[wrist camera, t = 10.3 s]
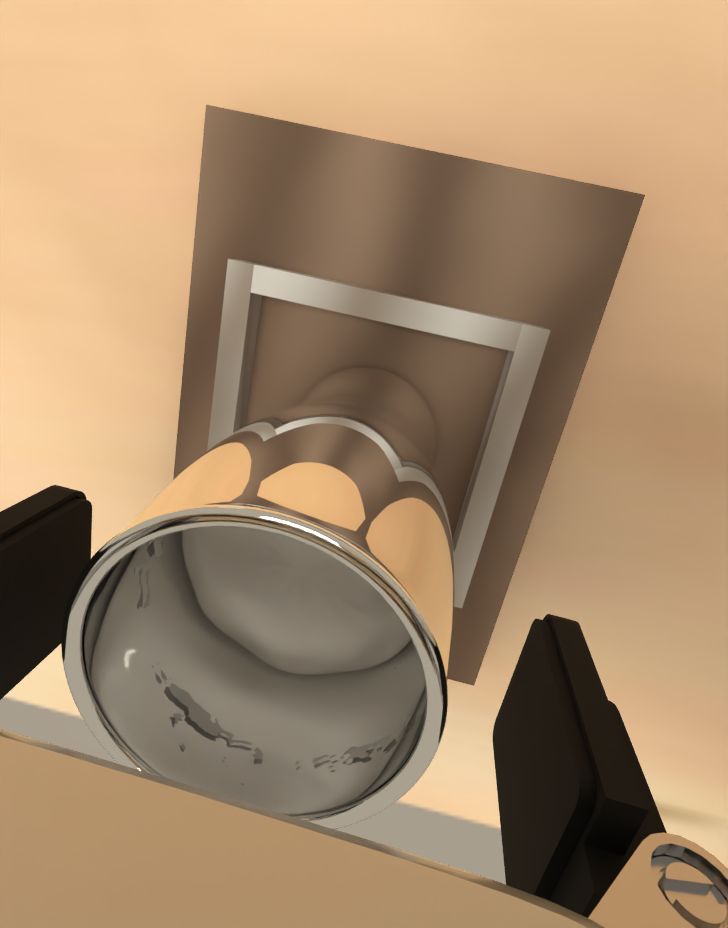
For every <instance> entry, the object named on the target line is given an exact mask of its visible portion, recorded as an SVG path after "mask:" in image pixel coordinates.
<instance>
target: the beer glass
mask: <svg viewBox="0 0 728 928" xmlns="http://www.w3.org/2000/svg"><path fill="white" fill-rule="evenodd" d="M436 446H437V432H436V426H435V422H434V419H433V416H432V413H431V411H430V408H429V406H428V404H427V403H426V401H425V400H424V398H423V397H422V395H421V394H420V393H419V392H418V391H417V390H416V389H415V388H414V387H413V386H412V385H411V384H410V383H409V382H407V381H406V380H404V379H403V378H401V377H399V376H398V375H396V374H393V373H391V372H389V371H386V370H382V369H378V368H372V367H354V368H348V369H344V370H340V371H337V372H335V373H333V374H331V375H329V376H327V377H325V378H324V379H322V380H321V381H320V382H318V383H317V384H316V385H315V386H314V387H313V388H312V389H311V390H310V391H309V392H308V394H307V395H306V396H305V398H304V399H303V401H302V403H301V405H300V406H297V407H292V408H289V409H285V410H282V411H280V412H277V413H274V414H272V415H269V416H266V417H264V418H261V419H259V420H256V421H254V422H252V423H250V424H248V425H246V426H244V427H243V428H241V429H239V430H238V431H236V432H235V433H233V434H232V435H230V436H228V437H227V438H225V439H224V440H222V441H221V442H219V443H218V444H216V445H215V446H213V447H212V448H210V449H209V450H208V451H207V452H205V453H204V454H203V455H202V456H201V457H199V458H198V459H197V460H196V461H195V462H193V463H192V464H191V465H190V466H189V467H187V468H186V469H185V470H184V471H183V472H181V473H180V474H179V475H178V476H177V477H176V478H175V479H174V480H173V481H172V482H171V483H170V484H169V485H168V486H167V487H166V488H165V489H164V490H163V491H161V492H160V493H159V494H158V495H157V496H156V497H155V498H154V499H153V500H152V501H151V502H150V503H149V504H148V505H147V506H146V507H145V508H144V510H143V511H142V512H141V513H140V514H139V515H138V516H137V517H136V518H135V519H134V520H133V521H132V522H131V523H130V524H129V525H128V526H127V527H126V528H125V529H124V530H123V531H122V532H121V533H119V534H118V535H116V536H115V537H114V538H112V539H111V540H110V541H109V542H107V543H106V544H105V545H104V546H103V547H102V548H101V549H100V550H99V551H98V552H97V553H96V554H95V555H94V556H93V557H92V558H91V560H90V561H89V562H88V563H87V565H86V566H85V568H84V569H83V570H82V572H81V574H80V575H79V577H78V578H77V580H76V582H75V584H74V586H73V588H72V591H71V593H70V596H69V598H68V602H67V605H66V608H65V612H64V618H63V625H62V658H63V665H64V670H65V674H66V678H67V682H68V685H69V688H70V691H71V694H72V697H73V699H74V701H75V704H76V706H77V708H78V710H79V712H80V714H81V716H82V717H83V719H84V721H85V722H86V724H87V726H88V727H89V729H90V730H91V732H92V733H93V735H94V736H95V738H96V739H97V740H98V742H99V743H100V744H101V745H102V747H103V748H104V749H105V750H106V751H107V752H108V754H109V755H110V756H111V757H112V758H113V759H114V760H115V761H116V762H117V763H118V764H120V765H123V766H127V767H130V768H133V769H137V770H140V771H143V772H147V773H150V774H153V775H157V776H160V777H163V778H167V779H170V780H173V781H177V782H180V783H183V784H187V785H190V786H193V787H197V788H200V789H203V790H206V791H210V792H213V793H216V794H220V795H223V796H226V797H230V798H233V799H236V800H240V801H243V802H246V803H250V804H253V805H256V806H259V807H263V808H266V809H269V810H272V811H276V812H279V813H282V814H285V815H289V816H292V817H295V818H298V819H302V820H305V821H308V822H311V823H315V824H318V825H321V826H324V827H328V828H331V829H338V828H342V827H345V826H349V825H352V824H354V823H357V822H360V821H362V820H365V819H367V818H369V817H371V816H373V815H375V814H377V813H379V812H381V811H382V810H384V809H386V808H387V807H389V806H390V805H391V804H393V803H394V802H396V801H397V800H398V799H400V798H401V797H402V796H403V795H404V794H406V793H407V792H408V791H409V790H410V789H411V788H412V787H413V786H414V785H415V783H416V782H417V781H418V780H419V779H420V778H421V776H422V775H423V774H424V772H425V771H426V769H427V768H428V766H429V765H430V763H431V761H432V759H433V758H434V756H435V753H436V751H437V749H438V747H439V744H440V741H441V738H442V735H443V731H444V728H445V723H446V717H447V708H448V689H447V676H448V666H449V658H450V649H451V640H452V628H453V616H454V594H455V561H454V551H453V542H452V534H451V526H450V520H449V515H448V512H447V508H446V505H445V502H444V499H443V496H442V493H441V490H440V487H439V484H438V482H437V479H436V477H435V475H434V473H433V471H432V469H431V465H432V463H433V460H434V456H435V452H436Z"/></svg>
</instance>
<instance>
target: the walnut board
mask: <svg viewBox="0 0 728 928" xmlns="http://www.w3.org/2000/svg"><path fill="white" fill-rule="evenodd" d="M644 196H645V195H642V194H638V193H633V192H628V191H623V190H618V189H613V188H608V187H604V186H599V185H594V184H589V183H584V182H579V181H574V180H570V179H565V178H560V177H555V176H550V175H545V174H540V173H535V172H531V171H526V170H521V169H516V168H511V167H506V166H501V165H497V164H492V163H487V162H482V161H477V160H472V159H467V158H463V157H458V156H453V155H448V154H443V153H438V152H433V151H429V150H424V149H419V148H414V147H409V146H404V145H399V144H395V143H390V142H385V141H380V140H375V139H370V138H365V137H361V136H356V135H351V134H346V133H341V132H336V131H331V130H326V129H322V128H317V127H312V126H307V125H302V124H297V123H292V122H288V121H283V120H278V119H273V118H268V117H263V116H258V115H254V114H249V113H244V112H239V111H234V110H229V109H224V108H220V107H215V106H210V105H206V113H205V125H204V136H203V148H202V159H201V171H200V182H199V193H198V205H197V216H196V228H195V239H194V251H193V262H192V274H191V285H190V296H189V308H188V319H187V331H186V342H185V354H184V365H183V376H182V388H181V399H180V411H179V422H178V434H177V445H176V456H175V468H174V479H175V478H176V477H177V476H178V475H179V474H180V473H181V472H183V471H184V470H185V469H186V468H187V467H189V466H190V465H191V464H192V463H193V462H195V461H196V460H197V459H198V458H199V457H201V456H202V455H203V454H204V453H205V452H207V451H208V450H209V449H210V448H212V447H213V446H215V445H216V444H218V443H219V442H221V441H222V440H224V439H225V438H227V437H228V436H230V435H232V434H233V433H235V432H236V431H238V430H239V429H241V428H243V427H244V426H246V425H248V424H250V423H252V422H254V421H256V420H259V419H261V418H264V417H266V416H269V415H272V414H274V413H277V412H280V411H282V410H285V409H289V408H292V407H297V406H300V405H301V403H302V401H303V399H304V398H305V396H306V395H307V394H308V392H309V391H310V390H311V389H312V388H313V387H314V386H315V385H316V384H317V383H318V382H320V381H321V380H322V379H324V378H325V377H327V376H329V375H331V374H333V373H335V372H337V371H340V370H344V369H348V368H354V367H372V368H378V369H382V370H386V371H389V372H391V373H393V374H396V375H398V376H399V377H401V378H403V379H404V380H406V381H407V382H409V383H410V384H411V385H412V386H413V387H414V388H415V389H416V390H417V391H418V392H419V393H420V394H421V395H422V397H423V398H424V400H425V401H426V403H427V404H428V406H429V408H430V411H431V413H432V416H433V419H434V422H435V426H436V432H437V446H436V452H435V456H434V460H433V463H432V465H431V469H432V471H433V473H434V475H435V477H436V479H437V482H438V484H439V487H440V490H441V493H442V496H443V499H444V502H445V505H446V508H447V512H448V515H449V520H450V526H451V534H452V542H453V551H454V561H455V594H454V616H453V628H452V640H451V649H450V658H449V666H448V676H447V679H451V680H455V681H458V682H462V683H466V684H470V685H474V684H475V681H476V678H477V675H478V672H479V669H480V666H481V663H482V661H483V658H484V655H485V652H486V649H487V646H488V643H489V641H490V638H491V635H492V632H493V629H494V626H495V623H496V620H497V618H498V615H499V612H500V609H501V606H502V603H503V600H504V598H505V595H506V592H507V589H508V586H509V583H510V580H511V578H512V575H513V572H514V569H515V566H516V563H517V560H518V557H519V555H520V552H521V549H522V546H523V543H524V540H525V537H526V535H527V532H528V529H529V526H530V523H531V520H532V517H533V514H534V512H535V509H536V506H537V503H538V500H539V497H540V494H541V492H542V489H543V486H544V483H545V480H546V477H547V474H548V471H549V469H550V466H551V463H552V460H553V457H554V454H555V451H556V449H557V446H558V443H559V440H560V437H561V434H562V431H563V428H564V426H565V423H566V420H567V417H568V414H569V411H570V408H571V406H572V403H573V400H574V397H575V394H576V391H577V388H578V386H579V383H580V380H581V377H582V374H583V371H584V368H585V365H586V363H587V360H588V357H589V354H590V351H591V348H592V345H593V343H594V340H595V337H596V334H597V331H598V328H599V325H600V322H601V320H602V317H603V314H604V311H605V308H606V305H607V302H608V300H609V297H610V294H611V291H612V288H613V285H614V282H615V279H616V277H617V274H618V271H619V268H620V265H621V262H622V259H623V257H624V254H625V251H626V248H627V245H628V242H629V239H630V236H631V234H632V231H633V228H634V225H635V222H636V219H637V216H638V214H639V211H640V208H641V205H642V202H643V199H644ZM174 479H173V480H174Z"/></svg>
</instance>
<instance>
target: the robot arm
mask: <svg viewBox="0 0 728 928" xmlns="http://www.w3.org/2000/svg"><path fill="white" fill-rule="evenodd" d="M91 527H92V505H91V503H90V502H89V501H88V500H86V496H85V494H84V493H83V492H80V491H77V490H73V489H69V488H65V487H61V486H57V485H53V486H50V487H48V488H46V489H44V490H42V491H40V492H38V493H36V494H34V495H33V496H31V497H29V498H27V499H25V500H23V501H21V502H19V503H17V504H15V505H13V506H11V507H9V508H7V509H5V510H3V511H1V512H0V700H1V699H2V698H3V697H4V696H5V695H6V694H7V693H8V692H9V691H10V690H11V689H12V688H13V687H15V686H16V685H17V684H18V683H19V682H20V681H21V680H22V679H23V678H24V677H25V676H26V675H27V674H28V673H30V672H31V671H32V670H33V669H34V668H35V667H36V666H37V665H38V664H39V663H40V662H41V661H42V660H44V659H45V658H46V657H47V656H48V655H49V654H50V653H51V652H52V651H53V650H54V649H55V648H56V647H58V646H59V645H60V644H61V643H62V625H63V618H64V612H65V608H66V605H67V602H68V598H69V596H70V593H71V591H72V588H73V586H74V584H75V582H76V580H77V578H78V577H79V575H80V574H81V572H82V570H83V569H84V568H85V566H86V565H87V563H88V562H89V561H90V560H91ZM493 748H494V759H495V769H496V780H497V791H498V802H499V812H500V823H501V834H502V844H503V854H504V866H505V877H506V885H505V884H502V883H499V882H497V881H494V880H491V879H488V878H485V877H482V876H479V875H476V874H473V873H470V872H467V871H464V870H460V869H457V868H454V867H451V866H448V865H445V864H442V863H439V862H436V861H433V860H430V859H427V858H423V857H420V856H417V855H414V854H411V853H408V852H405V851H402V850H399V849H396V848H393V847H389V846H386V845H383V844H379V843H376V842H373V841H370V840H367V839H363V838H360V837H356V836H353V835H350V834H347V833H344V832H341V831H337V830H334V829H331V828H328V827H324V826H321V825H318V824H315V823H311V822H308V821H305V820H302V819H298V818H295V817H292V816H289V815H285V814H282V813H279V812H276V811H272V810H269V809H266V808H263V807H259V806H256V805H253V804H250V803H246V802H243V801H240V800H236V799H233V798H230V797H226V796H223V795H220V794H216V793H213V792H210V791H206V790H203V789H200V788H197V787H193V786H190V785H187V784H183V783H180V782H177V781H173V780H170V779H167V778H163V777H160V776H157V775H153V774H150V773H147V772H143V771H140V770H137V769H133V768H130V767H127V766H123V765H120V764H117V763H113V762H110V761H107V760H103V759H100V758H97V757H93V756H90V755H87V754H83V753H80V752H77V751H73V750H70V749H66V748H63V747H60V746H56V745H53V744H49V743H46V742H42V741H39V740H36V739H32V738H29V737H26V736H22V735H19V734H15V733H12V732H9V731H5V730H2V729H0V928H728V869H727V868H726V867H725V866H724V865H723V864H722V863H721V862H720V861H719V860H718V859H717V858H716V857H715V856H713V855H712V854H710V853H709V852H707V851H706V850H705V849H703V848H702V847H700V846H699V845H697V844H696V843H694V842H691V841H689V840H687V839H685V838H683V837H681V836H678V835H673V834H669V833H667V832H666V830H665V827H664V825H663V822H662V820H661V817H660V815H659V812H658V810H657V807H656V804H655V802H654V799H653V797H652V794H651V792H650V789H649V787H648V784H647V782H646V779H645V776H644V774H643V771H642V769H641V766H640V764H639V761H638V759H637V756H636V754H635V751H634V748H633V746H632V743H631V741H630V738H629V736H628V733H627V731H626V728H625V726H624V723H623V721H622V718H621V715H620V713H619V711H618V709H617V707H616V705H615V704H614V703H612V702H611V701H608V699H607V696H606V694H605V691H604V688H603V686H602V683H601V680H600V678H599V675H598V673H597V670H596V667H595V665H594V662H593V659H592V657H591V654H590V651H589V649H588V646H587V643H586V641H585V638H584V635H583V633H582V630H581V627H580V625H579V623H578V622H576V621H573V620H569V619H565V618H562V617H558V616H554V615H550V614H548V615H546V616H545V617H544V619H543V620H540V619H535V620H534V621H533V623H532V626H531V628H530V631H529V634H528V636H527V639H526V642H525V644H524V647H523V649H522V652H521V655H520V657H519V660H518V663H517V665H516V668H515V671H514V673H513V676H512V678H511V681H510V684H509V686H508V689H507V692H506V694H505V697H504V700H503V702H502V705H501V708H500V710H499V713H498V715H497V718H496V721H495V725H494V730H493Z"/></svg>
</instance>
